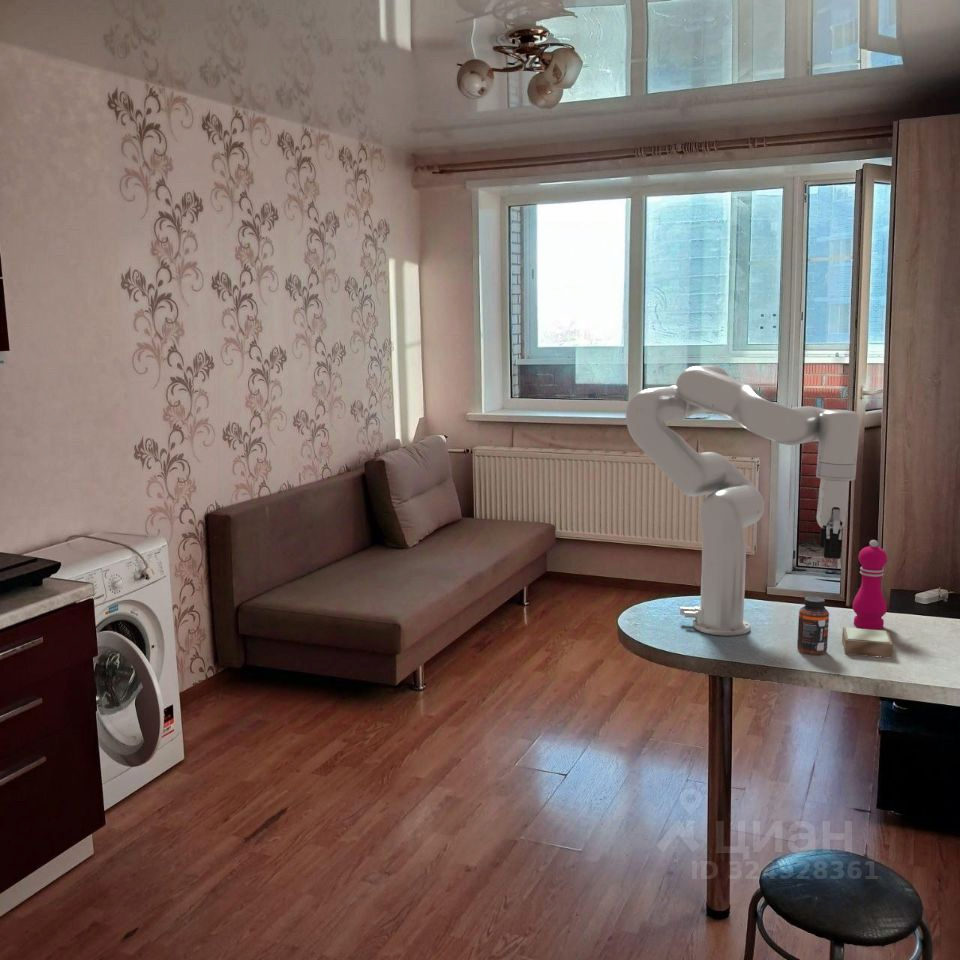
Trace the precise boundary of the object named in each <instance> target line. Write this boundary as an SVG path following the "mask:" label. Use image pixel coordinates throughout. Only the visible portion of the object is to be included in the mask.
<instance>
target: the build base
mask: <svg viewBox="0 0 960 960" xmlns="http://www.w3.org/2000/svg"><path fill="white" fill-rule="evenodd" d="M841 633H842V635H841V642H842V643H841V644H842V645H843V646H842V647H844V648H843V650H844V655H850V654H851V655H852V656H853V655H854V656H861V655H867V656H866V657H872V656H879V657H878V658H884V657H892V658H893V645H894V644H893V642H892V639H891V636H890V633H889V631H888V630H882V629H880V630H871V629H861V628H858V627H856V628H855V627H842V632H841ZM880 656H881V657H880Z"/></svg>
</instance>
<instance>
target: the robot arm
mask: <svg viewBox="0 0 960 960" xmlns="http://www.w3.org/2000/svg"><path fill="white" fill-rule="evenodd" d="M676 379H677V380H676V383H675V384H673V385H670V386H661V387H660V386H659V387H650V388H645V389H642V390H640V391H638V392H637V393H635V394H634V395H632V397H631V398H630V399H629V401H628V405H627V406H626V411H625V412H626V413H625V420H626V427H627V430H628V432H629V435H630V436H631V438H632V440H633V442H634V443H635V444H636V445H637V446H638V447H639V449H641V450H642V451H643V453H645V454H646V455H647V456H648V457H649V459H651V460H652V462H653V463H654V464H655V465H656V466H657V467H658V469H659V470H660V471H661V472H662V473H663V474H664V475H665V476H666V477H667V478H668V479H669V480H670V482H671V483H672V484H674V486H675V487H676V489H678V491H680V492H681V493H682V494H683V495H685V496H687V497H691V498H692V497H693V498H694V497H701V496H705V495H707V496H706V497H705V498H704V499H703V501H702V503H701V505H700V508H699V524H700V530H701V574H700V575H701V581H700V583H701V584H700V603H699V605H698V606H694V607H688V606H680V607H679V615H680V616H684V618H693V620H692V627H693V628H694V629H695V630H697V631H699V632H701V633H705V634H708V635H713V636H728V637H729V636H730V637H731V636H732V637H733V636H739V635H744V634H747V633H749V632H750V631H751V624H750V622H748V621H747V620H745V619H744V617H745V616H744V614H745V593H746V591H745V590H746V589H745V588H746V569H747V568H746V566H747V561H746V559H747V547H746V545H747V544H746V540H745V535H744V528H746V527H749V526H752V525H754V524H756V523H757V522H759V521H760V519H761V518H762V516H763V515H764V512H765V501H764V498H763V496H762V494H761V492H760V491H759V490H758V488H757V487H756V486H755V485H754V483H752V482H751V481H750V480H749V479H748V477H746V475H744V474H743V473H742V472H741V471H740V470H739V469H738V467H736V465H734V464H733V462H731V461H730V460H729V459H728V458H727V457H725V456H724V455H722V454H720V453H717V452H714V451H706V452H699V451H696V450H695V449H694V448H693V447H692V446H691V445H690V444H689V443H688V442H687V441H686V440H685V439H684V438H683V437H682V436H681V435H680V434H679V433H678V432H676V431H674V430H673V429H671V428H670V427H669V426H668V425H666V424H669V423H676V422H679V421H683V420H685V419H686V418H689V417H691V416H693V415H695V414H697V413H699V412H702V411H703V410H706V411H708V412H710V413H714V414H716V415H719V416H722V417H723V418H726V419H729V420H732V421H734V422H735V423H736V424H738V425H739V426H741V427H742V428H744V429H746V430H747V431H749V432H751V433H753V434H754V435H757V436H759V437H762V438H765V439H766V440H770V441H772V442H775V443H777V444H781V445H785V446H796V445H800V444H801V445H802V444H805V443H813V442H818V446H817V461H816V473H815V475H816V476H815V477H816V478H818V479H820V483H819V490H818V499H817V508H816V510H817V511H816V522H817V524H818V525H819V527H820V535H819V547H820V548H823V558H824V559H833V560H834V559H835V560H840V559H841V557H842V556H841V555H842V546H843V540H842V539H843V538H842V537H843V536H842V535H843V534H842V533H843V532H842V529H844V528H845V525H846V520H847V510H848V502H849V501H848V499H849V487H850V481H855V480H856V474H857V462H858V461H857V460H858V450H859V438H860V427H861V426H860V425H861V424H860V423H861V417H860V415H859V413H858V412H857V411H853V410H846V409H827V408H823V407H817V406H812V405H811V406H810V405H805V406H795V407H787V406H784V405H781V404H778V403H775V402H773V401H770V400H767V399H765V398H763V397H761V396H760V395H758V394H757V393H756V392H755V388H754V386H753V385H752V384H751V383H749V382H747V381H742V380H740V379H737V378H733V377H731V376H730V375H729V374H728V371H726V370H725V369H723V368H722V367H720V366H717V365H711V364H710V365H695V366H690V367H688V368H686V369H684V370H682V372H681V373H680V374H679V376H678V378H676Z"/></svg>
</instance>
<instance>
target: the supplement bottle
mask: <svg viewBox="0 0 960 960" xmlns="http://www.w3.org/2000/svg"><path fill="white" fill-rule="evenodd" d="M803 605H804V606H802V607H801V608H800V609H798V610H799V611H798V623H797V624H798V625H797V640H796V641H797V645H796V646H797V650H798V651H799V652H801V653H802V654H806V655H812V656H813V655H814V656H821V655H824V654H825V653H827V651H828V641H829V640H828V639H829V627H830V626H829V623H830V613H829V611H828V609H826V607H825V606H826V600H825V599H824V598H822V597H819V596H807V597H804V604H803Z"/></svg>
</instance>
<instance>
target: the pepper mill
mask: <svg viewBox="0 0 960 960" xmlns="http://www.w3.org/2000/svg"><path fill="white" fill-rule="evenodd" d="M858 553H859V554H858V557H857V558H858V561H859V564H860V565H861V566H860V568H859V569H860V571H859V573H860V574H861V584H860V588H859V590H858V591H857V593H856V595H855V596H854V599H853V601H852V610H853V611H854V613H855V614H856V615H855V616H854V617H853V625H854V627H856V628H858V629H871V630H882V629H884V623H885V621H884V619H883V618H882V617H884V616H885V614H887V610H888V605H887V602H886V599H885V596H884V593H883V590H882V585H881V584H882V577H883V576H884V575H885V573H884V571H885V569H884V566H886V564H887V563H888V556H887V555H888V554H887V553H886V551H885V550H884V549H883V548H881V547H879V542H878V541H877V540H875V539H871V540H870V541H869V546H865V547H864V548H862V549H861V550H860V551H859V552H858Z"/></svg>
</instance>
